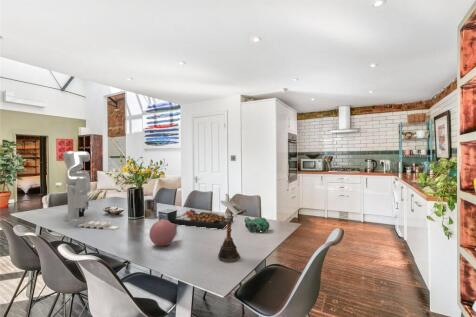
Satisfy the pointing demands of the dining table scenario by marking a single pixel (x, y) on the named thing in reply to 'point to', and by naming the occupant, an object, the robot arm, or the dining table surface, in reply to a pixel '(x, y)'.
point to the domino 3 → (98, 224)
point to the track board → (89, 227)
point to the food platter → (201, 220)
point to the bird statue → (228, 248)
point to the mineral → (256, 224)
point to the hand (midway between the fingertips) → (81, 216)
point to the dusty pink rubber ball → (162, 232)
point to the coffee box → (150, 209)
